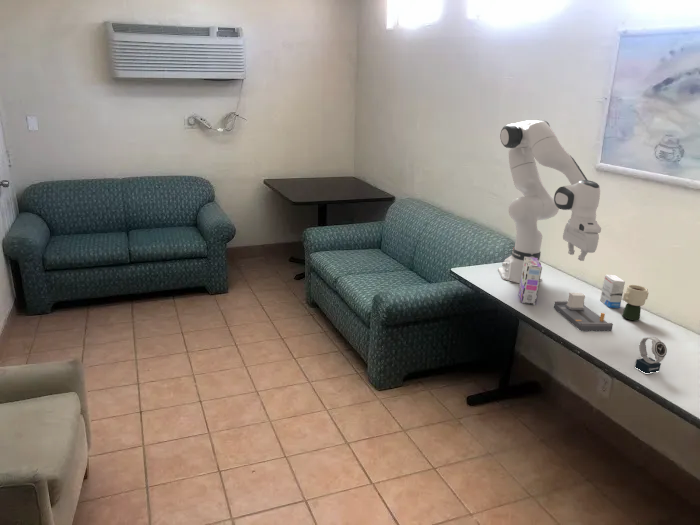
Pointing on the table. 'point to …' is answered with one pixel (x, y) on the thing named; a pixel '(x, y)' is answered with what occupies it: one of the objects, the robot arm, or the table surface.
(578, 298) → the fader tab
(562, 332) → the table surface
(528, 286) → the candy box
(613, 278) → the ink box
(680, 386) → the table surface
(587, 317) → the fader console
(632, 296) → the character mug
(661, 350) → the watch
